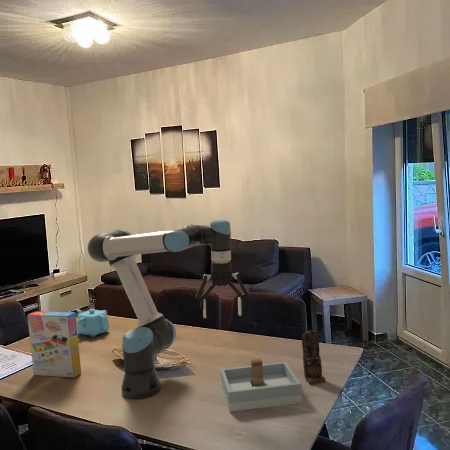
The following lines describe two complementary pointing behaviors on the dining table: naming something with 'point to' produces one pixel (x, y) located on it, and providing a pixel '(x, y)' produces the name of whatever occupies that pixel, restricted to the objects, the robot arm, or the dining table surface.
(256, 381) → the peg
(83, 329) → the teapot
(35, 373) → the game box
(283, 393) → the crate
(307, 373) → the statue
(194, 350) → the dining table surface
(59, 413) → the dining table surface
